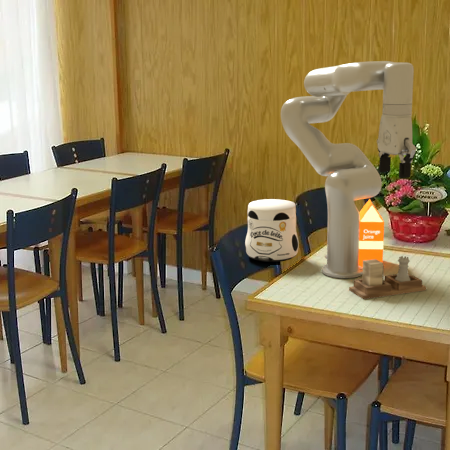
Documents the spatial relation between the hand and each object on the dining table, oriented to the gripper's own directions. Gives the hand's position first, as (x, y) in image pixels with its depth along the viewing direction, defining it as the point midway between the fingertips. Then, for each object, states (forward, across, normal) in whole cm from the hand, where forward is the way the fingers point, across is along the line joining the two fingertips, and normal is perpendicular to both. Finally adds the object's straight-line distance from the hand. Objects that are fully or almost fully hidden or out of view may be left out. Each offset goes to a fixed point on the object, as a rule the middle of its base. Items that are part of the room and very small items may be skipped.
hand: (394, 174), depth 195 cm
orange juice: (+34, -25, +8) cm, 43 cm away
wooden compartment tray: (+33, -1, 0) cm, 33 cm away
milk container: (+34, -42, -18) cm, 57 cm away
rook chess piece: (+32, -1, +5) cm, 33 cm away
